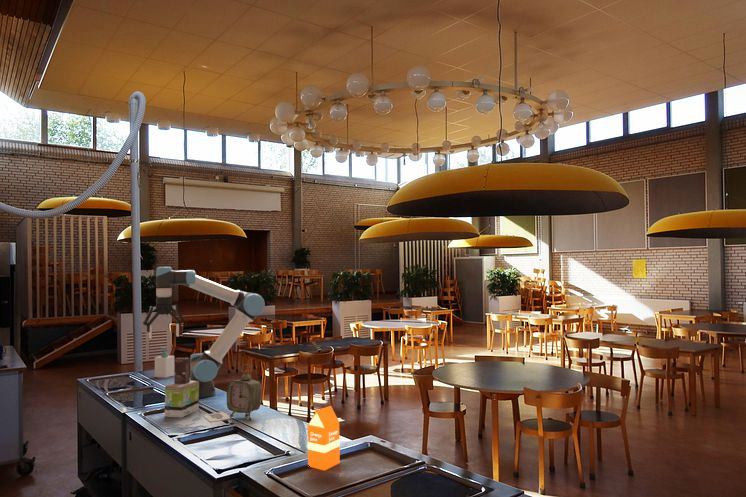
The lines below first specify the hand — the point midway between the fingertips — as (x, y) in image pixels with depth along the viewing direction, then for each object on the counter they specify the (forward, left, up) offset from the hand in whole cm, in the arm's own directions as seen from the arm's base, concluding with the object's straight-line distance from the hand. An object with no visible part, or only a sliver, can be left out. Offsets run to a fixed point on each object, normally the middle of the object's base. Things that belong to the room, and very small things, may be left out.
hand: (164, 337), depth 286 cm
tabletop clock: (-26, +49, -35) cm, 65 cm away
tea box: (-4, +23, -35) cm, 42 cm away
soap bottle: (-16, -77, -35) cm, 86 cm away
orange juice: (-30, +123, -35) cm, 131 cm away
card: (-16, +40, -35) cm, 55 cm away
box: (-4, +23, -20) cm, 31 cm away
